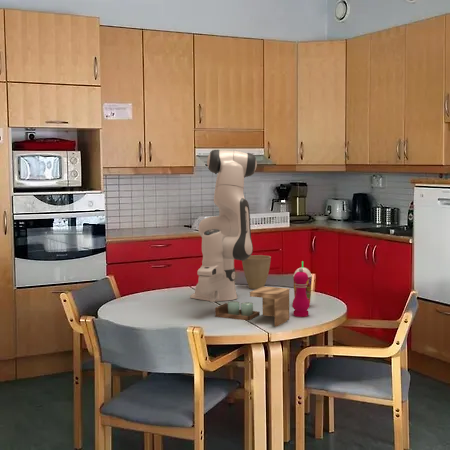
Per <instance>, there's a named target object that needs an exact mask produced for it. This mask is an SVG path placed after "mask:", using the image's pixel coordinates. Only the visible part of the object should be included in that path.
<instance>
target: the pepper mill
mask: <svg viewBox="0 0 450 450" xmlns="http://www.w3.org/2000/svg"><path fill="white" fill-rule="evenodd" d="M299 268H300V269H299V272H297V273H296V274H295V275H294V274H293V275H294V280H293V282H294V281H295V282H296V283H295V287H296V295H295V297H293V300H292V304H291V305H292V308H293V309H294V310H293V311H292V312H293V316H294V317H297V318H305V317H308V316H309V308H310V307H311V306H310V304H311V302H310V303H309V300H308V298H307V295H306V287H307V283H306V282H307V281H308V275H307V274H306V273H305V272H303V269H302V268H301V267H299Z"/></svg>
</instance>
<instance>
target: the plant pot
mask: <svg viewBox="0 0 450 450" xmlns="http://www.w3.org/2000/svg"><path fill="white" fill-rule="evenodd" d="M271 258H272V256H270V255H263V254H258V255H257V254H256V255H255V254H254V255H253V254H251V255H250V257H249V258H248V259H246V260H245V261H241V265H242V269H243V273H244V277H245V280H246V283H247V286H248V288H249V289H250V290H256V289H258V288H260V287H263V286H264V287H266V286H265V285H266V282H267V280H268V276H269V272H270V267H271V261H272V259H271Z"/></svg>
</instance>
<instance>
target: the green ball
mask: <svg viewBox="0 0 450 450" xmlns="http://www.w3.org/2000/svg"><path fill="white" fill-rule="evenodd" d="M227 303H228V314H232V315H239V310H240V301H235V300H229V301H227Z"/></svg>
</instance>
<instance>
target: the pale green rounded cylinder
mask: <svg viewBox="0 0 450 450" xmlns="http://www.w3.org/2000/svg"><path fill="white" fill-rule="evenodd" d="M240 308H241V309H240V310H241V315H242V316H250V315H252V314H253V311H254V303H253V302H250V301H249V302H247V301H246V302H245V301H244V302H241V304H240Z"/></svg>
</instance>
